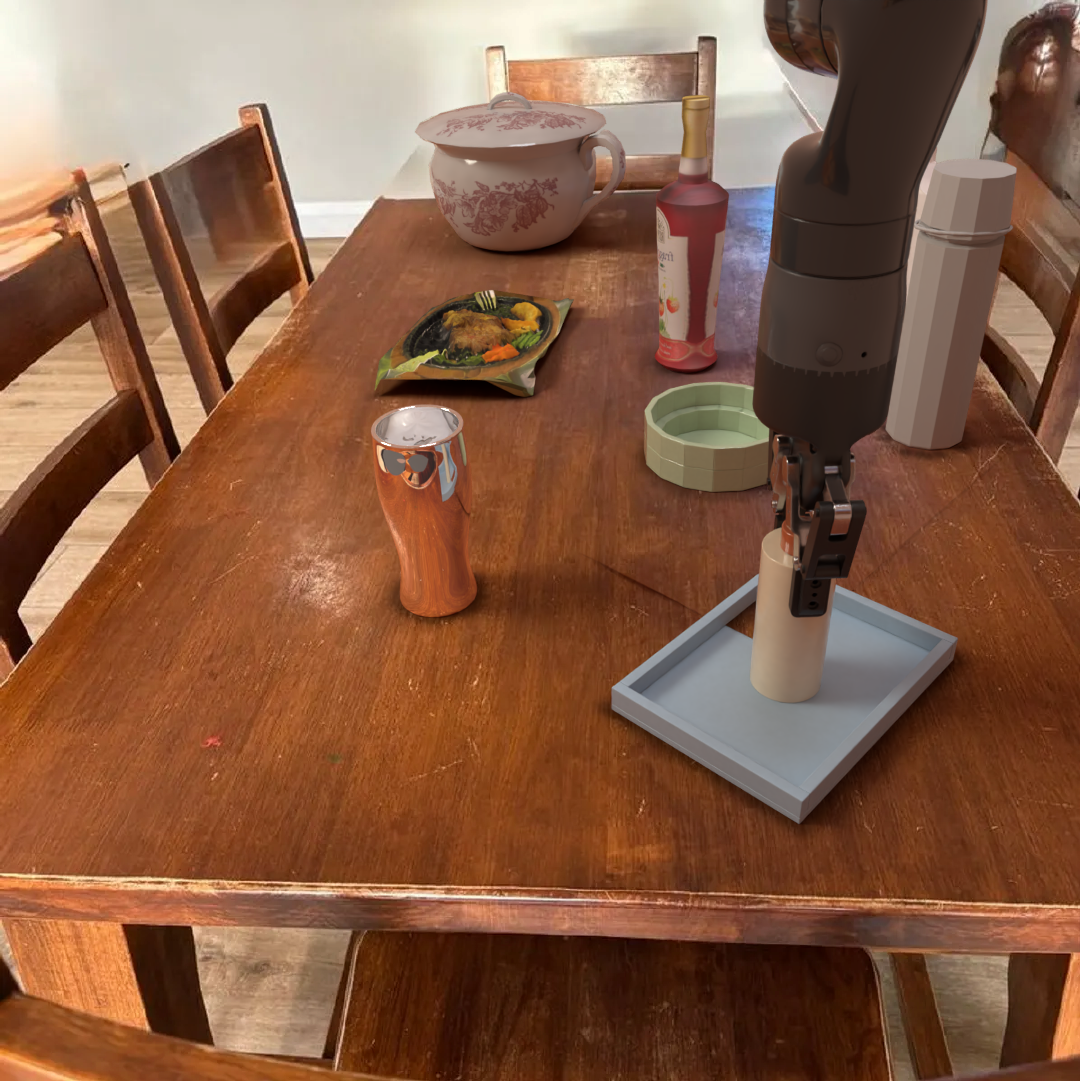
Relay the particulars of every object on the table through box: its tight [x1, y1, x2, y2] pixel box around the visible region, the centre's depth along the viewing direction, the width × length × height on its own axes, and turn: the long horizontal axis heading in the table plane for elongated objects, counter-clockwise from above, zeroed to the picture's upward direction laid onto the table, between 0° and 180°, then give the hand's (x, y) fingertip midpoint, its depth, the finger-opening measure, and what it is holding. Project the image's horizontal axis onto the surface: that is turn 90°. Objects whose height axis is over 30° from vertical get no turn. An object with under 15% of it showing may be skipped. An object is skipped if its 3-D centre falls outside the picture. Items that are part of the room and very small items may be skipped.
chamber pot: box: [414, 91, 627, 253], centre depth 148 cm, size 28×28×21 cm
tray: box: [611, 573, 959, 825], centre depth 69 cm, size 20×15×2 cm
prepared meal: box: [373, 289, 575, 398], centre depth 119 cm, size 28×4×18 cm
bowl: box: [643, 381, 769, 493], centre depth 94 cm, size 13×13×5 cm
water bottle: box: [885, 158, 1018, 451], centre depth 91 cm, size 9×8×25 cm
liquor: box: [654, 94, 730, 374], centre depth 105 cm, size 7×7×28 cm
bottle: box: [749, 516, 838, 703], centre depth 66 cm, size 5×5×12 cm
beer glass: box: [370, 404, 478, 618], centre depth 76 cm, size 7×7×15 cm
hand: (797, 586), depth 65 cm, fingers closed on bottle, 4 cm apart
